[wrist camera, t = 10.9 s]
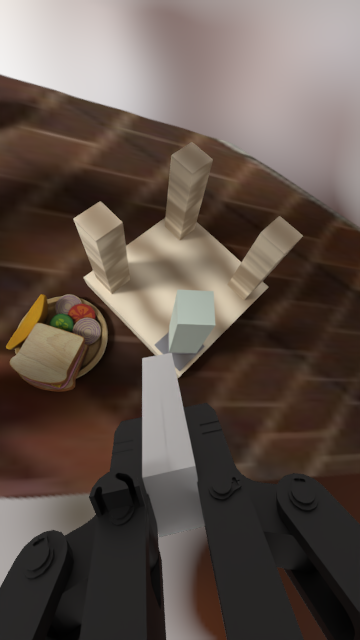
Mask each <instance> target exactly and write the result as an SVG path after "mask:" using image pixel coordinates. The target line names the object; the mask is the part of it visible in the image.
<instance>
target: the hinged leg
mask: <svg viewBox="0 0 360 640" xmlns="http://www.w3.org/2000/svg"><path fill="white" fill-rule="evenodd" d="M214 327H215V308H214V291H198V290H177V294H176V298H175V303H174V307H173V312H172V316H171V321H170V325H169V331H168V343H167V351H168V353H172V354H195V353H197V352H198V350H199V349H200V347H201V346H202V344H203V343H204V341H205V340H206V338H207V337H208V336H209V334H210V333H211V331H212V330H213V328H214Z"/></svg>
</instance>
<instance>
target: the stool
mask: <svg viewBox="0 0 360 640" xmlns="http://www.w3.org/2000/svg"><path fill="white" fill-rule="evenodd" d="M212 161H213V159H212V158H210V157H209V156H208V155H207V154H206V153H204V152H203V151H202V150H201V149H200V148H198V147H197V146H196V145H195V144H194V143H193V142H191V143H190V144H188V145H187V146H185V147H184V148H182V149H180V150H179V151H177V152H176V153H174V154H173V155H171V165H170V176H169V186H168V197H167V208H166V217H165V218H164V219H162V220H161V221H160V222H158V223H157V224H156V225H154V226H153V227H152V228H150V229H149V230H147V231H146V232H145V233H143V234H142V235H141V236H139V237H138V238H137V239H135V240H134V241H133V242H131V243H130V244H128V245H127V246H126V243H125V236H124V228H123V222H122V221H121V220H120V219H119V218H118V217H117V216H116V215H115V214H113V213H112V212H111V211H110V210H109V209H108V208H107V207H106V206H105V205H104V204H103V203H102V202H101V201H100V202H98V203H97V204H95V205H94V206H92V207H90V208H89V209H87V210H86V211H84V212H83V213H81V214H80V215H78V216H77V217H75V218H73V219H74V222H75V225H76V227H77V230H78V232H79V235H80V238H81V240H82V243H83V245H84V248H85V250H86V253H87V256H88V258H89V261H90V263H91V266H92V268H93V271H92V272H90V273H89V274H88V275H86V276H85V277H84V279H85V281H86V283H87V285H88V286H89V287H90V288H91V289H92V290H93V291H94V292H95V293H96V294H97V295H98V296H99V297H100V298H101V299H102V301H103V302H104V303H105V304H106V305H107V306H108V307H109V308H110V309H111V310H112V311H113V312H114V313H115V314H116V315H117V316H118V317H119V318H120V319H121V320H122V321H123V322H124V323H125V324H126V325H127V327H128V328H129V329H130V330H131V331H132V332H133V333H134V334H135V335H136V336H137V337H138V338H139V339H140V340H141V341H142V342H143V343H144V344H145V345H146V346H147V347H148V348H149V349H150V350H151V351H152V353H153V354H154V355H155V356H157V355H162V354H167V353H168V351H167V343H168V331H169V325H170V321H171V316H172V312H173V307H174V303H175V298H176V294H177V290H198V291H214V308H215V327H214V328H213V330H212V331H211V333H210V334H209V336H208V337H207V338H206V340H205V341H204V343H203V344H202V346H201V347H200V349H199V350H198V352H197V353H195V354H172V356H173V361H174V366H175V370H176V375H177V379H178V378H179V377H180V376H181V375H182V374H183V373H184V372H185V371H186V370H187V369H188V368H189V367H190V366H191V365H192V364H193V363H194V362H195V361H196V360H197V359H198V358H199V357H200V356H201V355H202V354H203V353H204V352H205V351H206V350H207V349H208V348H209V347H210V346H211V345H212V344H213V343H214V342H215V341H216V340H217V339H218V338H219V337H220V336H221V335H222V334H223V333H224V332H225V331H226V330H227V329H228V328H229V327H230V326H231V325H232V324H233V323H234V322H235V321H236V320H237V319H238V318H239V317H240V315H241V314H242V313H243V312H244V311H245V310H246V309H247V308H248V307H249V306H250V305H251V304H252V303H253V302H254V301H255V300H256V299H257V298H258V297H259V296H260V295H261V294H262V293H263V292H264V291H265V290H266V289H267V288H268V286H267V285H266V284H265V283H264V282H263V280H264V279H265V278H266V277H267V276H268V275H269V274H270V272H271V271H272V270H273V269H274V268H275V267H276V266H277V265H278V264H279V262H280V261H281V260H282V259H283V258H284V257H285V256H286V255H287V253H288V252H289V251H290V250H291V249H292V248H293V247H294V246H295V245H296V243H297V242H298V241H299V240H300V239H301V238H302V237H303V235H302V234H300V233H299V232H298V231H297V230H296V229H294V228H293V227H292V226H291V225H290V224H289V223H287V222H286V221H285V220H284V219H283V218H281V217H280V216H279V217H278V218H276V219H275V220H274V221H273V222H272V223H271V224H270V225H269V226H267V227H266V228H265V229H264V230H263V231H262V232H261V233H260V234H259V236H258V237H257V239H256V241H255V242H254V244H253V245H252V247H251V248H250V250H249V252H248V253H247V255H246V256H245V258H244V259H243V261H242V262H241V261H239V260H238V259H237V258H236V257H235V256H234V255H233V254H232V253H231V252H229V251H228V250H227V249H226V248H225V247H224V246H223V245H222V244H221V243H219V242H218V241H217V240H216V239H215V238H214V237H213V236H212V235H211V234H210V233H208V232H207V231H206V230H205V229H204V228H203V227H202V226H201V225H200V224H198V223H197V218H198V214H199V211H200V207H201V203H202V199H203V195H204V191H205V188H206V184H207V180H208V176H209V172H210V168H211V165H212Z"/></svg>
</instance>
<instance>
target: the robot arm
mask: <svg viewBox="0 0 360 640" xmlns="http://www.w3.org/2000/svg"><path fill="white" fill-rule="evenodd" d="M113 444H114V446H113V451H112V459H111V467H110V472H108V473H106V474H105V475H104V476H103V477H101V478H100V479H99V480H98V481H97V482H96V484H95V485H94V486H93V488H92V490H91V493H90V496H89V498H90V501H91V503H92V505H93V508H94V510H95V513H96V515H95V516H94V517H93V518H92V519H91V520H90V521H88V523H86V524H84V525H83V526H81V527H79V528H77V529H76V530H74V531H72V532H70V533H69V534H67V535H65V536H64V535H63V534H62V532H58V531H55V530H52V531H47V532H44V533H42V534H40V535H38V536H36V537H35V538H33V539H32V540H31V541H30V542H29V543H28V544H27V545H26V546H25V547H24V548H23V549H22V551H21V552H20V554H19V555H18V556H17V558H16V559H15V561H14V563H13V565H12V567H11V569H10V571H9V572H8V574H7V576H6V578H5V580H4V582H3V583H2V585H1V587H0V640H166V630H165V613H164V595H163V578H162V560H161V556H160V552H159V548H158V534H159V537H163V536H167V535H171V534H175V533H179V532H184V531H187V530H192V529H196V528H200V527H205V529H206V534H207V539H208V544H209V550H210V556H211V561H212V566H213V571H214V576H215V581H216V586H217V591H218V596H219V601H220V606H221V612H222V617H223V622H224V627H225V632H226V637H227V640H304V639H303V636H302V634H301V631H300V628H299V625H298V623H297V621H296V618H295V615H294V612H293V610H292V607H291V604H290V602H289V599H288V596H287V594H286V591H285V588H284V586H283V583H282V580H281V578H280V575H279V572H278V570H277V567H280V568H284V570H285V572H286V573H287V575H288V577H289V578H290V580H291V581H292V583H293V585H294V586H295V588H296V590H297V591H298V593H299V594H300V596H301V598H302V599H303V601H304V603H305V604H306V606H307V607H308V609H309V610H310V612H311V614H312V616H313V617H314V619H315V620H316V622H317V624H318V625H319V627H320V629H321V630H322V632H323V633H324V635H325V637H326V638H327V640H360V524H359V523H358V522H357V521H356V520H355V519H354V518H353V517H352V516H351V515H350V514H349V513H348V512H347V511H346V510H345V509H344V508H343V507H342V506H341V504H340V503H339V502H337V500H336V499H335V498H334V497H333V496H332V495H331V494H330V493H329V492H328V491H327V490H326V489H325V488H324V487H323V486H322V485H321V484H320V483H319V482H317V481H316V480H315V479H313V478H311V477H309V476H306V475H304V474H295V473H293V474H290V475H286V476H284V477H283V478H282V479H281V480H280V481H279V483H278V484H269V483H260V482H256V481H253V480H250V479H248V478H246V477H245V476H244V475H242V474H241V473H240V472H239V470H238V469H237V468H236V466H235V464H234V461H233V459H232V456H231V453H230V451H229V448H228V445H227V442H226V440H225V437H224V434H223V431H222V429H221V426H220V423H219V420H218V418H217V415H216V412H215V410H214V409H213V408H212V407H211V406H210V405H208V404H207V403H204V404H199V405H194V406H189V407H185V408H183V404H182V399H181V394H180V390H179V385H178V380H177V375H176V370H175V366H174V361H173V356H172V353H167V354H162V355H157V356H152V357H147V358H142V417H141V418H136V419H131V420H126V421H121V423H120V425H119V426H118V428H117V430H116V431H115V435H114V443H113Z"/></svg>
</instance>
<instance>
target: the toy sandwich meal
mask: <svg viewBox="0 0 360 640" xmlns="http://www.w3.org/2000/svg"><path fill="white" fill-rule="evenodd" d="M107 340H108V330H107V325H106V322H105V319H104V317H103V315H102V314H101V312H100V311H99V310H98V309H97V308H96V307H95V306H94V305H92V304H91V303H89V302H88V301H85V300H83V299H80V298H78V297H76V296H74V295H69V294H68V295H64V296H62V297H55V298H51V299H48V300H47V298H46V296H45V295H43V294H41V295H40V296H39V298H38V299H37V301H36V302H35V303H34V305H33V306H32V307H31V309H30V311H29V312H28V313H27V314H26V315H25V317H24V318H23V319H22V321H21V323H20V324H19V326H18V329H17V330H16V332H15V333H14V334H13V336H12V338H11V339H10V341H9V342H8V344H7V345H6V348H7V349H9V350H12V349H15V352H16V355H15V356H14V357H13V358H11V360H10V365H11V367H12V368H13V369H14V370H15V371H16V372H17V373H18V374H19V376H20V377H21V378H22V379H23V380H25V381H26V382H27V383H29V384H31V385H32V386H34V387H37V388H40V389H43V390H48V391H56V392H62V391H69V390H72V389H74V388H75V380H76V378H79V377H80V376H82V375H84V374H86V373H87V372H88V371H90V370H91V369H92V368H93V367H94V366H95V365H96V364H97V363H98V362H99V360H100V359H101V357H102V355H103V354H104V351H105V349H106V345H107Z"/></svg>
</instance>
